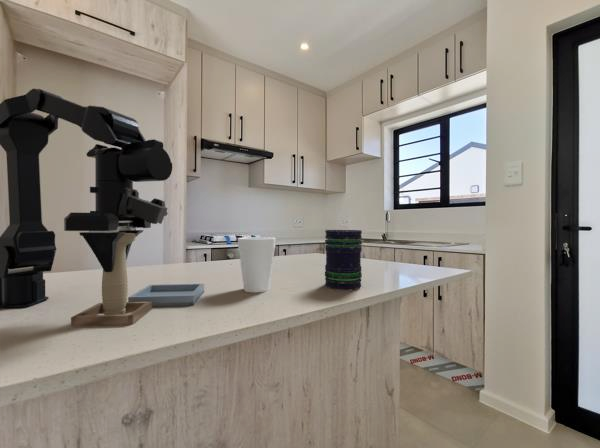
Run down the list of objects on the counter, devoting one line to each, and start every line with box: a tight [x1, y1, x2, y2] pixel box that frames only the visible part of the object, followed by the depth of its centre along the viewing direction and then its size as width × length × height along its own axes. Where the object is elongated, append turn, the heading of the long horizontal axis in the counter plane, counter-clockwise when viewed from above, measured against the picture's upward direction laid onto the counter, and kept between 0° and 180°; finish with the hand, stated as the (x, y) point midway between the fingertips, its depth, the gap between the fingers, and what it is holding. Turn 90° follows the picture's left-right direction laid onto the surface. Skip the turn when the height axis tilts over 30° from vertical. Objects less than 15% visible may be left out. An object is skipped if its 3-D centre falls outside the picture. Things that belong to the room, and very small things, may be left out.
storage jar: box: [324, 229, 363, 291], centre depth 81 cm, size 10×10×15 cm
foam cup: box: [237, 236, 277, 293], centre depth 76 cm, size 10×9×13 cm
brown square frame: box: [70, 301, 153, 327], centre depth 54 cm, size 10×9×2 cm
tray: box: [127, 283, 205, 307], centre depth 67 cm, size 13×12×2 cm
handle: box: [101, 233, 136, 315], centre depth 54 cm, size 5×6×15 cm
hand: (114, 269), depth 54 cm, fingers closed on handle, 4 cm apart
